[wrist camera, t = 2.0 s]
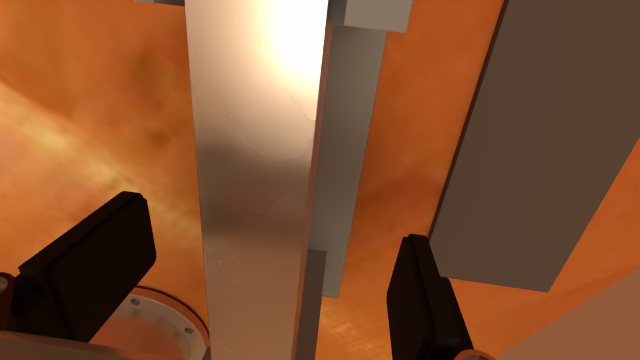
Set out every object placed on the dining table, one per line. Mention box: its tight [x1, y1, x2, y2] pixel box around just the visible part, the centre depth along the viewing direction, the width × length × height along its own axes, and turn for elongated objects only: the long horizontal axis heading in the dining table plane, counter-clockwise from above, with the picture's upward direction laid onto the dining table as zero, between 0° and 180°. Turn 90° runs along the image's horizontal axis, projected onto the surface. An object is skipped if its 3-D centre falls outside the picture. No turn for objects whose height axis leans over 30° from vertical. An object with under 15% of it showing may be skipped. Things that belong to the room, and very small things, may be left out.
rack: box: [136, 0, 413, 360], centre depth 16 cm, size 25×8×14 cm, turn 174°
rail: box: [185, 0, 336, 360], centre depth 11 cm, size 24×3×3 cm, turn 174°
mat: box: [428, 0, 640, 292], centre depth 19 cm, size 25×10×1 cm, turn 174°
